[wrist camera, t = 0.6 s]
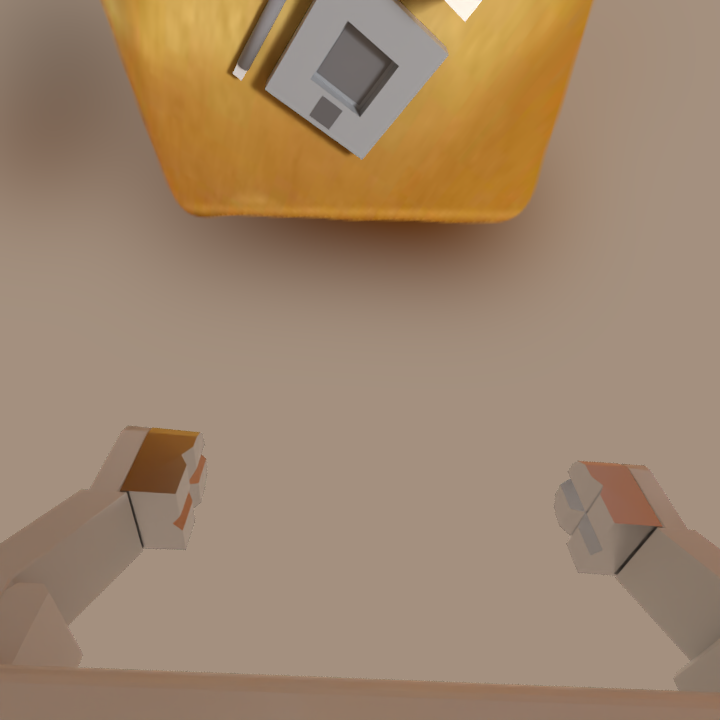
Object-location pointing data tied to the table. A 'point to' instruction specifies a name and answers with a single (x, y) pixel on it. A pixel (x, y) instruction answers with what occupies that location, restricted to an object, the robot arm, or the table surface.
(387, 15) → the plate
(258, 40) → the bar
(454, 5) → the brick
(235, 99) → the table surface
